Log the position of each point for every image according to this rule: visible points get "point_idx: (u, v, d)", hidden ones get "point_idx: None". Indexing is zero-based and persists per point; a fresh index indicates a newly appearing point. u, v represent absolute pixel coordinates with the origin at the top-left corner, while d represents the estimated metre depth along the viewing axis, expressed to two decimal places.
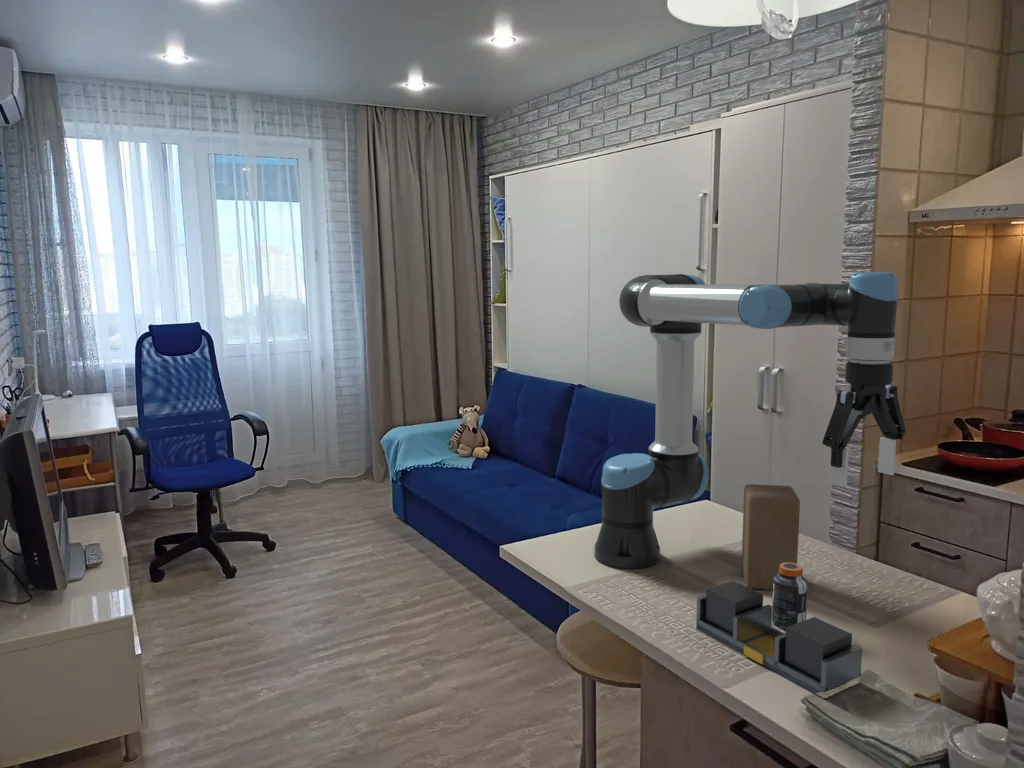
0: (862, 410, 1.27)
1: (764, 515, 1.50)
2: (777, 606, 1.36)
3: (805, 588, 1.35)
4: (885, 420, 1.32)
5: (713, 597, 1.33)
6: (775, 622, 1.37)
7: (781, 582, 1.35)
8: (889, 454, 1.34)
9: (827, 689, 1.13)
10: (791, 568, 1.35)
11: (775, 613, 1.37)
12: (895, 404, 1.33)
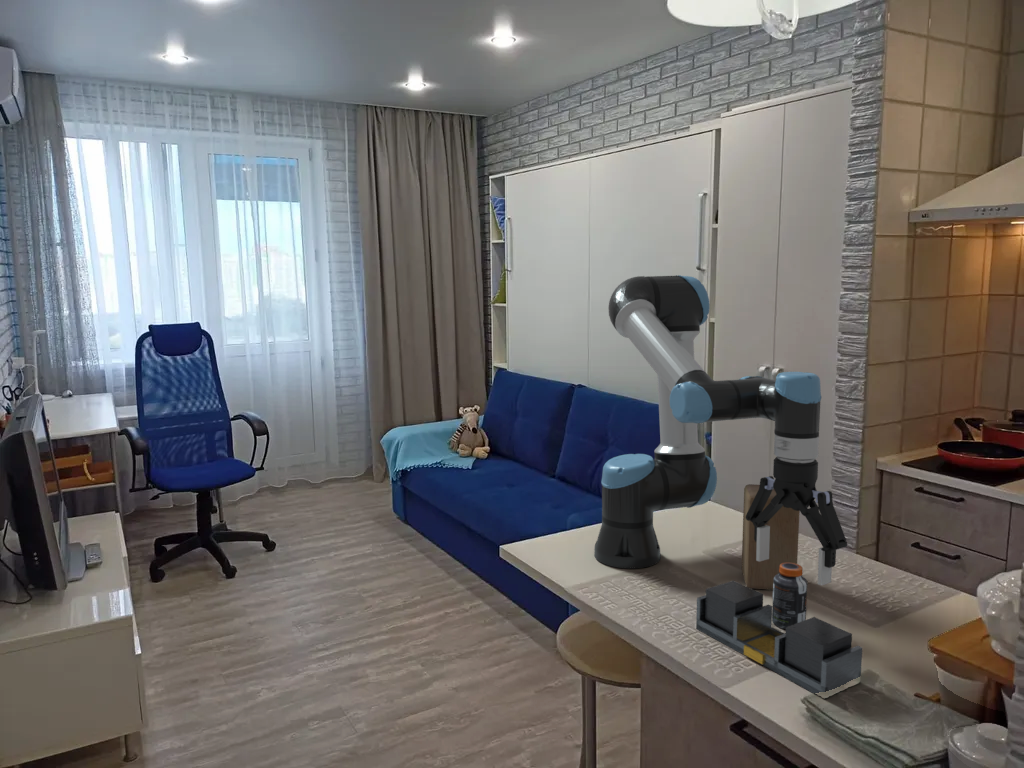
0: None
1: None
2: (777, 606, 1.36)
3: (805, 588, 1.35)
4: None
5: (713, 597, 1.33)
6: (775, 622, 1.37)
7: (781, 582, 1.35)
8: None
9: (827, 689, 1.13)
10: (791, 568, 1.35)
11: (775, 613, 1.37)
12: (821, 512, 1.28)
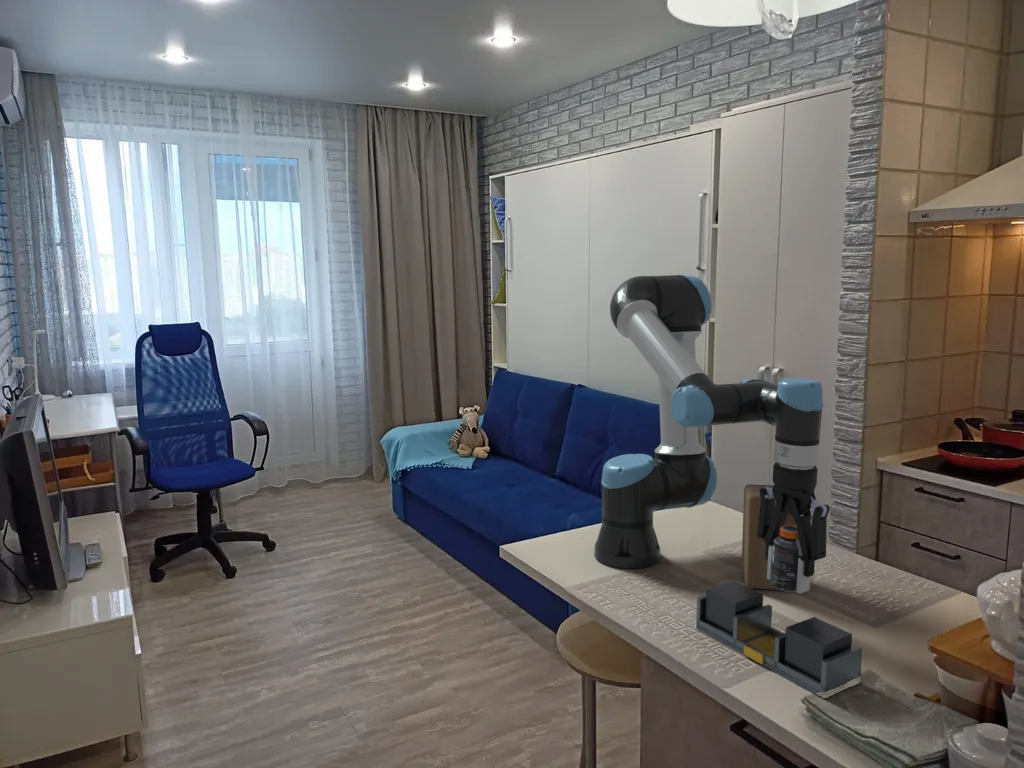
0: (774, 508, 1.36)
1: None
2: (776, 568, 1.35)
3: None
4: None
5: (713, 597, 1.33)
6: (774, 584, 1.36)
7: (781, 544, 1.34)
8: None
9: (827, 689, 1.13)
10: (791, 530, 1.34)
11: (774, 575, 1.36)
12: (813, 523, 1.30)
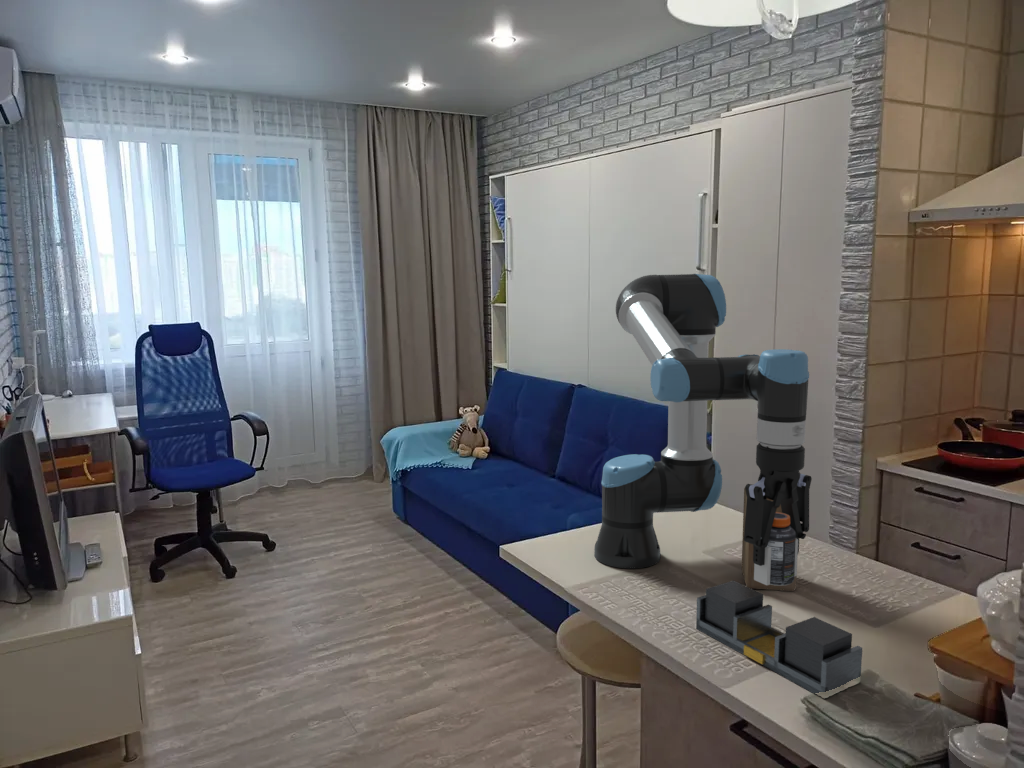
0: (775, 501, 1.20)
1: None
2: (789, 562, 1.22)
3: None
4: (791, 512, 1.24)
5: (713, 597, 1.33)
6: (787, 582, 1.22)
7: (791, 533, 1.21)
8: None
9: (827, 689, 1.13)
10: (785, 515, 1.23)
11: (786, 572, 1.22)
12: (805, 495, 1.25)
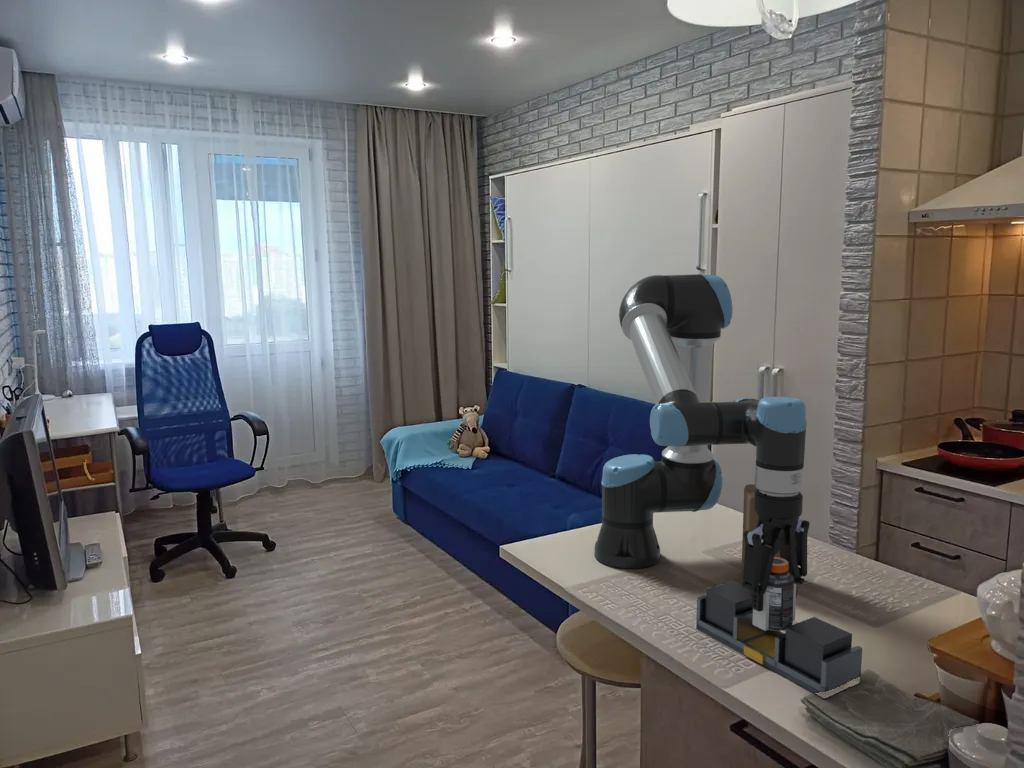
0: (773, 548, 1.21)
1: None
2: (787, 608, 1.23)
3: None
4: (789, 557, 1.25)
5: (713, 597, 1.33)
6: (785, 627, 1.23)
7: (789, 579, 1.22)
8: None
9: (827, 689, 1.13)
10: (783, 561, 1.24)
11: (785, 617, 1.23)
12: (803, 540, 1.26)
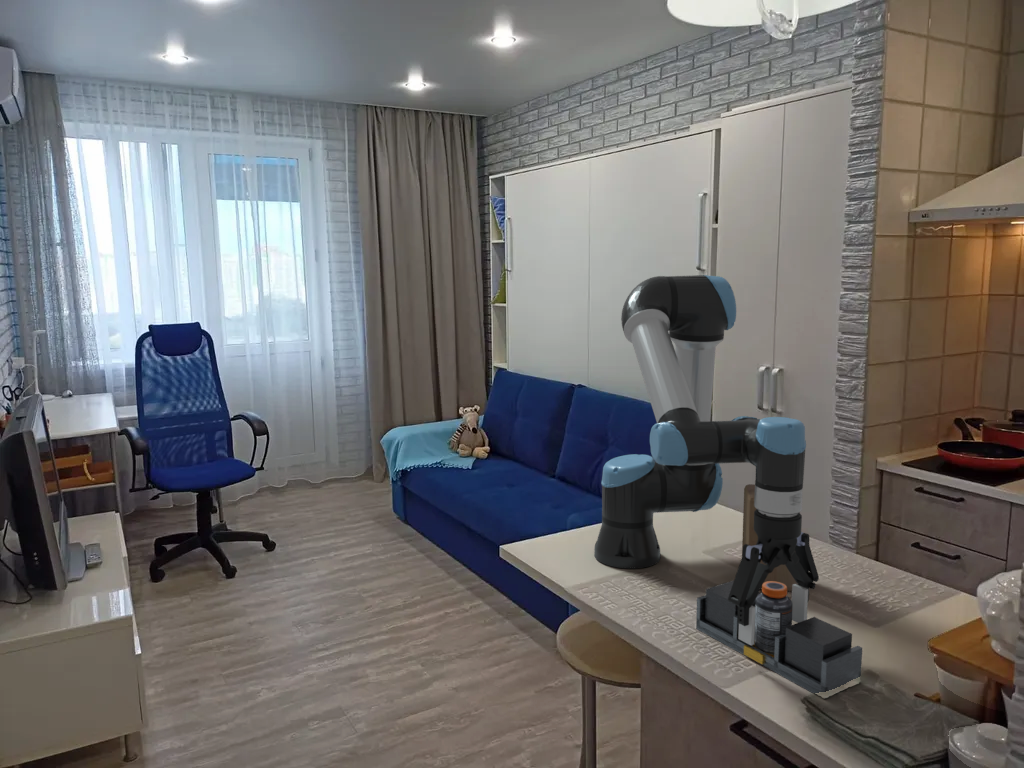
0: (769, 565, 1.21)
1: None
2: None
3: None
4: (795, 570, 1.26)
5: (713, 597, 1.33)
6: None
7: (787, 604, 1.23)
8: (801, 603, 1.28)
9: (827, 689, 1.13)
10: (782, 586, 1.25)
11: None
12: (807, 552, 1.27)
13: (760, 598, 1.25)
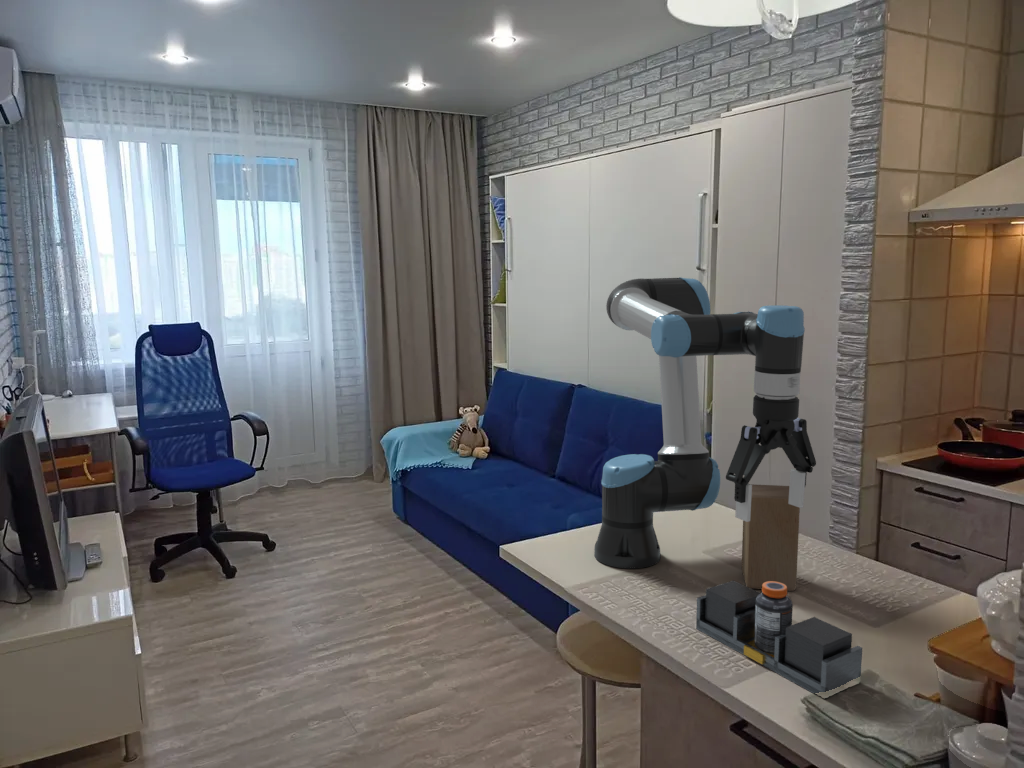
0: (766, 445, 1.26)
1: (764, 515, 1.50)
2: None
3: None
4: (793, 454, 1.31)
5: (713, 597, 1.33)
6: None
7: (787, 604, 1.23)
8: (798, 487, 1.34)
9: (827, 689, 1.13)
10: (782, 586, 1.25)
11: None
12: (804, 437, 1.32)
13: (760, 598, 1.25)
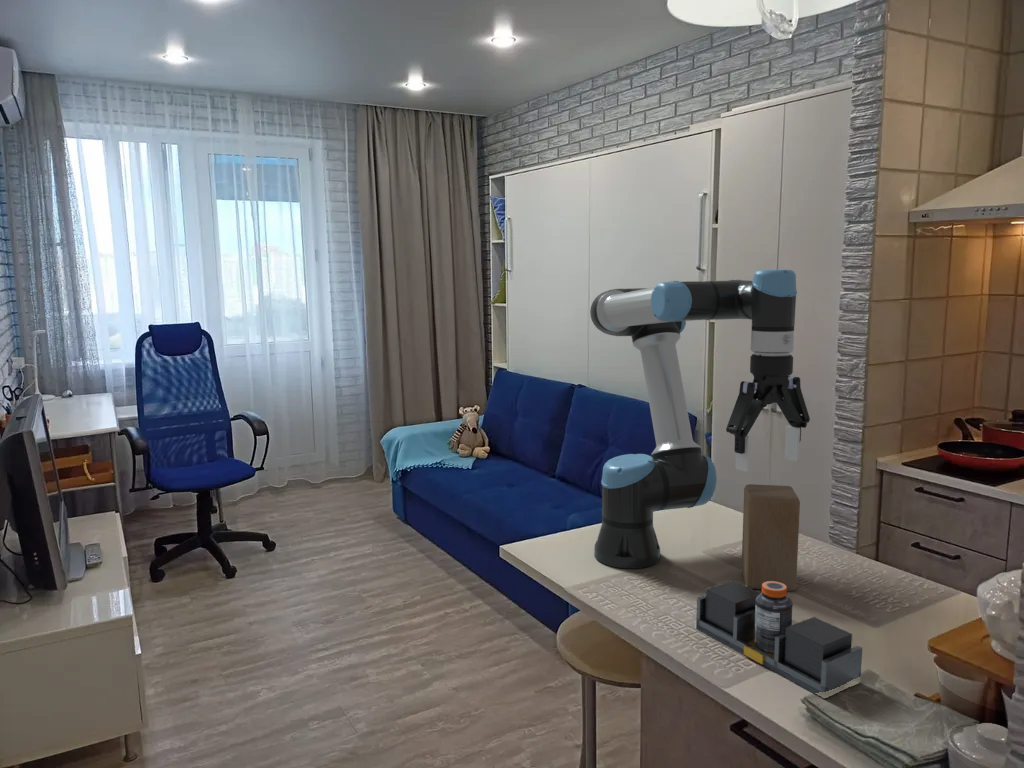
0: (763, 399, 1.35)
1: (764, 515, 1.50)
2: None
3: None
4: (788, 410, 1.40)
5: (713, 597, 1.33)
6: None
7: (787, 604, 1.23)
8: (794, 441, 1.42)
9: (827, 689, 1.13)
10: (782, 586, 1.25)
11: None
12: (798, 394, 1.41)
13: (760, 598, 1.25)
